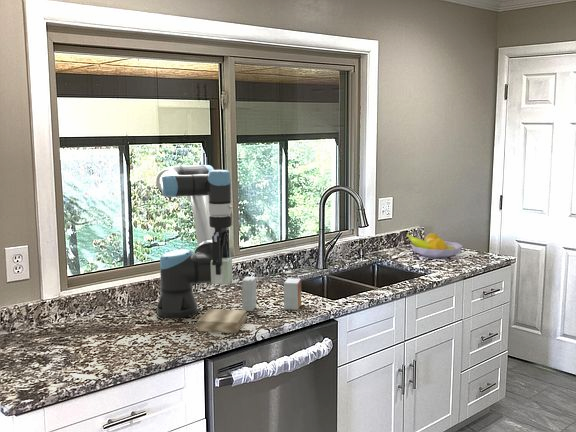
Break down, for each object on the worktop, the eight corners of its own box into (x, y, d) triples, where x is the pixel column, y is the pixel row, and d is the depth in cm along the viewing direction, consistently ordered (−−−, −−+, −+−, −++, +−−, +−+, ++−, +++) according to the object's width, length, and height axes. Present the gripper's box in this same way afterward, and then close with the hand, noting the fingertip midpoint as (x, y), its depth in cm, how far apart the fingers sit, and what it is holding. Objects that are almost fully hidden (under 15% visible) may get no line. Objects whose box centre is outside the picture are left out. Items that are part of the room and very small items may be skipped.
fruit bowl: (467, 253, 330) (468, 232, 328) (452, 263, 307) (452, 241, 306) (417, 248, 345) (418, 228, 343) (399, 257, 322) (400, 236, 320)
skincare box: (245, 306, 237) (245, 275, 235) (257, 306, 236) (256, 276, 234) (241, 311, 231) (240, 279, 229) (252, 311, 230) (252, 280, 228)
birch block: (197, 332, 209) (197, 321, 208) (209, 319, 223) (209, 308, 222) (237, 334, 207) (236, 322, 206) (246, 321, 220) (246, 310, 220)
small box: (297, 310, 231) (297, 283, 230) (283, 309, 232) (283, 282, 231) (301, 304, 239) (301, 278, 237) (287, 303, 240) (287, 277, 238)
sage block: (211, 283, 210) (210, 261, 209) (216, 279, 216) (215, 257, 215) (228, 284, 209) (227, 261, 208) (232, 280, 215) (231, 257, 214)
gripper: (223, 219, 199) (225, 288, 202) (237, 211, 218) (238, 274, 221) (201, 219, 200) (203, 287, 204) (217, 211, 219) (218, 274, 222)
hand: (221, 280), depth 212 cm, fingers closed on sage block, 6 cm apart
